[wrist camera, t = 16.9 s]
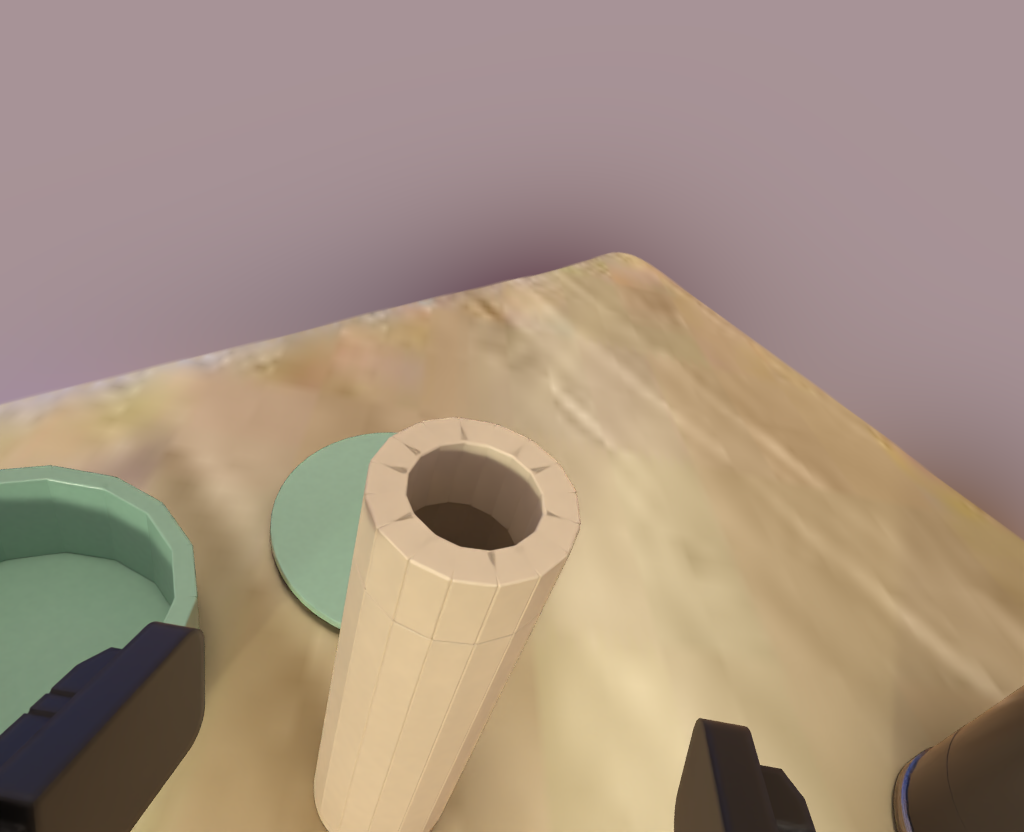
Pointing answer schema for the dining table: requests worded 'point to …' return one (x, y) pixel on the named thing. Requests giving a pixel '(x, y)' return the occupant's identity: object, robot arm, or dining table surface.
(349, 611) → the light brown hollow cylinder
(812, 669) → the dining table surface
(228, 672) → the dining table surface
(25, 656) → the pot
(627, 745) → the dining table surface
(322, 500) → the lid
